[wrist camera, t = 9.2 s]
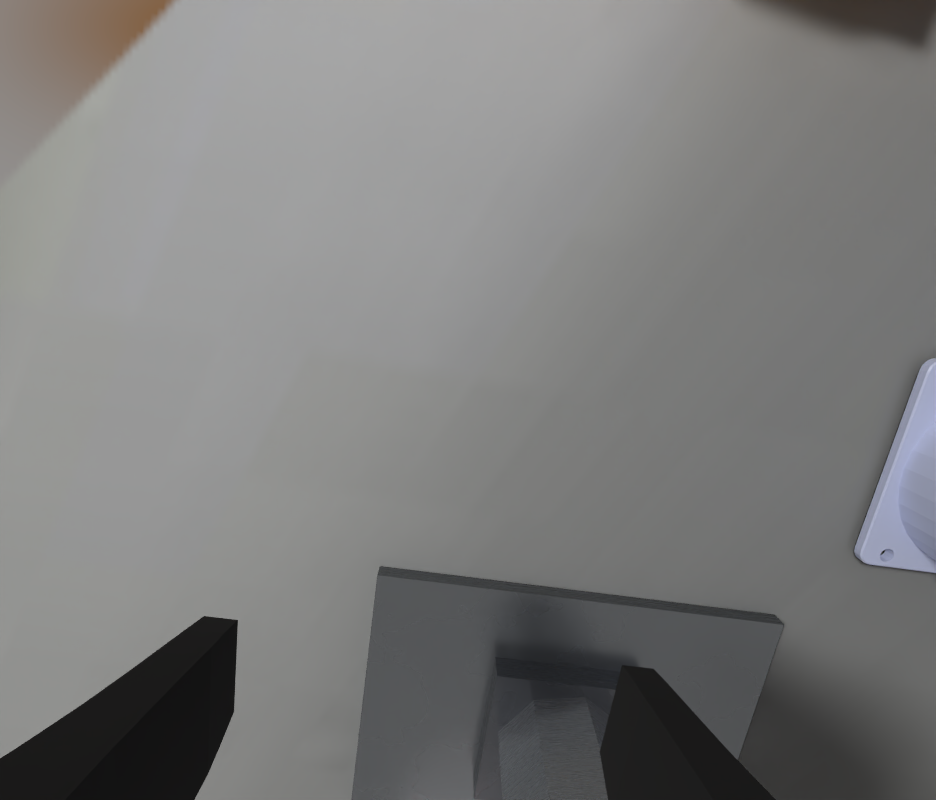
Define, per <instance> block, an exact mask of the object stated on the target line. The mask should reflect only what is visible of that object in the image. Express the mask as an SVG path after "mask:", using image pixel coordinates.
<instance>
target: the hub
mask: <svg viewBox="0 0 936 800" xmlns="http://www.w3.org/2000/svg"><path fill="white" fill-rule="evenodd" d="M608 717H609V715H608V714H607V713H606V712H604V711H603V710H602V709H601V708H599V707H598V706H597V705H595V704H594V703H593V702H591V701H590V700H589V699H587V698H586V697H570V698H553V699H537V700H532V701H531V702H530V703H529V704H528V705H527V706H526V707H525V708H524V709H522V710H521V711H520V712H519V713H518V714H517V715H516V716H515V717H514V718H513V719H511V720H510V721H509V722H508V723H507V724H506V725H505V726H504V727H503V728H502V729H501V730H499V731H498V736H499V752H500V769H501V784H502V797H503V800H608V796H607V791H606V786H605V780H604V774H603V768H602V762H601V756H600V748H601V744H602V741H603V737H604V733H605V729H606V725H607V721H608Z"/></svg>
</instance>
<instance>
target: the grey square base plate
mask: <svg viewBox="0 0 936 800" xmlns="http://www.w3.org/2000/svg"><path fill="white" fill-rule="evenodd" d="M783 626H784V625H783V623H782V622H781V621H780V620H779V619H778V618H777V617H776V616H775V615H771V614H763V613H755V612H747V611H739V610H730V609H722V608H714V607H706V606H698V605H690V604H682V603H673V602H665V601H657V600H649V599H641V598H633V597H625V596H616V595H608V594H600V593H592V592H584V591H576V590H568V589H559V588H551V587H543V586H535V585H527V584H519V583H511V582H503V581H494V580H486V579H478V578H470V577H462V576H454V575H446V574H437V573H429V572H421V571H413V570H405V569H397V568H389V567H380V568H379V572H378V575H377V584H376V592H375V601H374V609H373V618H372V627H371V635H370V644H369V653H368V661H367V670H366V678H365V687H364V696H363V704H362V713H361V722H360V730H359V739H358V748H357V756H356V765H355V773H354V782H353V791H352V799H351V800H503V797H502V784H501V769H500V752H499V736H498V731H499V730H501V729H502V728H503V727H504V726H505V725H506V724H507V723H508V722H509V721H510V720H511V719H513V718H514V717H515V716H516V715H517V714H518V713H519V712H520V711H521V710H522V709H524V708H525V707H526V706H527V705H528V704H529V703H530V702H531V701H532V700H537V699H553V698H570V697H586V698H587V699H589V700H590V701H591V702H593V703H594V704H595V705H597V706H598V707H599V708H601V709H602V710H603V711H604V712H606V713H607V714H608V715H609V713H610V710H611V706H612V702H613V698H614V694H615V690H616V686H617V683H618V679H619V675H620V671H621V667H622V665H626V666H635V667H643V668H652V669H654V670H655V671H656V672H657V673H658V674H659V675H660V676H661V677H662V678H663V679H664V680H665V681H666V682H667V683H668V684H669V686H670V687H671V688H672V689H673V690H674V691H675V692H676V693H677V694H678V695H679V697H680V698H681V699H682V700H683V701H684V702H685V703H686V704H687V705H688V707H689V708H690V709H691V710H692V711H693V712H694V713H695V714H696V715H697V716H698V718H699V719H700V720H701V721H702V722H703V723H704V724H705V725H706V726H707V728H708V729H709V730H710V731H711V732H712V733H713V734H714V735H715V736H716V737H717V738H718V740H719V741H720V742H721V743H722V744H723V745H724V746H725V747H726V748H727V749H728V750H729V752H730V753H731V754H732V755H733V756H734V757H735V758H736V759H737V760H738V758H739V755H740V752H741V749H742V746H743V743H744V740H745V737H746V734H747V731H748V728H749V725H750V723H751V720H752V717H753V714H754V711H755V708H756V705H757V702H758V699H759V696H760V693H761V690H762V687H763V684H764V682H765V679H766V676H767V673H768V670H769V667H770V664H771V661H772V658H773V655H774V652H775V649H776V646H777V644H778V641H779V638H780V635H781V632H782V629H783Z"/></svg>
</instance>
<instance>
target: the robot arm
mask: <svg viewBox="0 0 936 800" xmlns="http://www.w3.org/2000/svg"><path fill="white" fill-rule="evenodd" d="M884 550H885V552H884V553H883V554H882V555H880V554H881V553H882V551H884ZM854 552H855V556H856V557H857V558H858V559H860V560H861V561H862V562H864V563H866V564H869V565H876V566H884V567H892V568H900V569H907V570H915V571H923V572H931V573H936V358H932V359H930V360H928V361H926V362H925V363H924V364H923V365H922V367H921V368H920V370H919V373H918V376H917V379H916V381H915V384H914V387H913V390H912V392H911V395H910V398H909V400H908V403H907V406H906V409H905V411H904V414H903V417H902V420H901V422H900V425H899V428H898V431H897V433H896V436H895V439H894V442H893V444H892V447H891V450H890V453H889V455H888V458H887V461H886V463H885V466H884V469H883V472H882V474H881V477H880V480H879V483H878V485H877V488H876V491H875V494H874V496H873V499H872V502H871V505H870V507H869V510H868V513H867V515H866V518H865V521H864V524H863V526H862V529H861V532H860V535H859V537H858V540H857V543H856V546H855V550H854ZM237 625H238V620H232V619H223V618H215V617H206V616H204V617H202V618H201V619H200V620H198V621H197V622H196V623H194V624H193V625H191V626H190V627H188V628H187V629H186V630H184V631H183V632H182V633H180V634H179V635H177V636H176V637H175V638H173V639H172V640H171V641H169V642H168V643H167V644H165V645H164V646H163V647H161V648H160V649H159V650H157V651H156V652H154V653H153V654H152V655H150V656H149V657H148V658H146V659H145V660H144V661H142V662H141V663H140V664H138V665H137V666H135V667H134V668H133V669H131V670H130V671H129V672H127V673H126V674H124V675H123V676H122V677H120V678H119V679H117V680H116V681H115V682H113V683H112V684H110V685H109V686H108V687H106V688H105V689H103V690H102V691H101V692H99V693H98V694H96V695H95V696H94V697H92V698H91V699H89V700H88V701H86V702H85V703H84V704H82V705H81V706H79V707H78V708H76V709H75V710H73V711H72V712H70V713H69V714H67V715H66V716H64V717H63V718H61V719H60V720H58V721H57V722H55V723H54V724H52V725H51V726H49V727H48V728H46V729H45V730H43V731H42V732H40V733H39V734H37V735H36V736H34V737H33V738H31V739H30V740H28V741H27V742H25V743H24V744H22V745H21V746H19V747H18V748H16V749H15V750H13V751H11V752H10V753H8V754H7V755H5V756H3V757H2V758H0V800H194V799H195V797H196V795H197V793H198V792H199V790H200V788H201V786H202V784H203V782H204V780H205V778H206V776H207V775H208V772H209V770H210V768H211V765H212V763H213V761H214V758H215V756H216V754H217V751H218V749H219V747H220V744H221V742H222V740H223V737H224V735H225V732H226V730H227V727H228V725H229V722H230V720H231V717H232V715H233V713H234V696H235V673H236V649H237ZM600 756H601V762H602V768H603V774H604V780H605V786H606V791H607V796H608V800H775V799H774V798H773V797H772V796H771V795H770V794H769V793H768V792H767V790H766V789H765V788H764V787H763V786H762V785H761V784H760V783H759V782H758V781H757V780H756V779H755V778H754V777H753V776H752V775H751V774H750V773H749V772H748V771H747V770H746V769H745V768H744V767H743V765H742V764H741V763H740V762H739V761H738V760H737V759H736V758H735V757H734V756H733V755H732V754H731V753H730V752H729V750H728V749H727V748H726V747H725V746H724V745H723V744H722V743H721V742H720V741H719V740H718V738H717V737H716V736H715V735H714V734H713V733H712V732H711V731H710V730H709V729H708V728H707V726H706V725H705V724H704V723H703V722H702V721H701V720H700V719H699V718H698V716H697V715H696V714H695V713H694V712H693V711H692V710H691V709H690V708H689V707H688V705H687V704H686V703H685V702H684V701H683V700H682V699H681V698H680V697H679V695H678V694H677V693H676V692H675V691H674V690H673V689H672V688H671V687H670V686H669V684H668V683H667V682H666V681H665V680H664V679H663V678H662V677H661V676H660V675H659V674H658V673H657V672H656V671H655V670H654V669H652V668H643V667H635V666H626V665H622V667H621V671H620V675H619V679H618V683H617V686H616V690H615V694H614V698H613V702H612V706H611V710H610V713H609V717H608V721H607V725H606V729H605V733H604V737H603V741H602V744H601V748H600Z"/></svg>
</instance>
